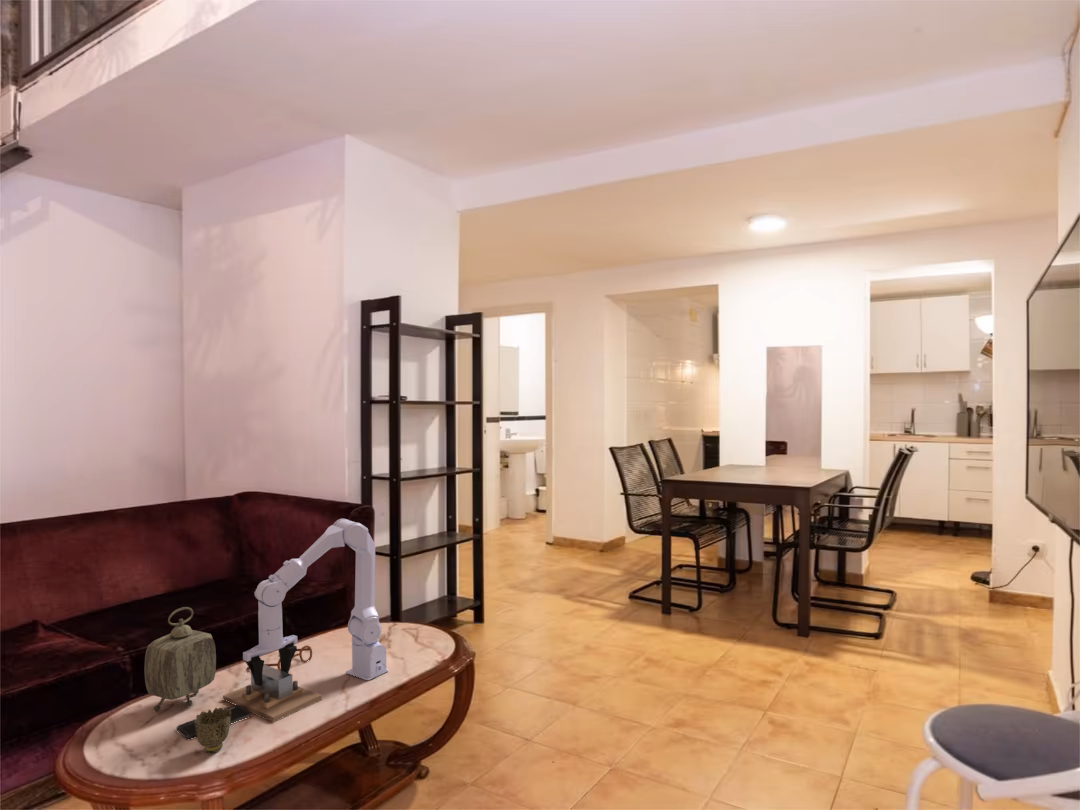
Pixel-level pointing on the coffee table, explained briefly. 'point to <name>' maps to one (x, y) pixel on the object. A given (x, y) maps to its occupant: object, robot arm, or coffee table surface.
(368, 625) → the robot arm
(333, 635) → the coffee table surface
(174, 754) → the coffee table surface
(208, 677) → the tabletop clock
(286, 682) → the metal bar
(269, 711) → the peg rack
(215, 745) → the cup
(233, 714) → the phone
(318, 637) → the coffee table surface
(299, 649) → the glasses
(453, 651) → the coffee table surface
